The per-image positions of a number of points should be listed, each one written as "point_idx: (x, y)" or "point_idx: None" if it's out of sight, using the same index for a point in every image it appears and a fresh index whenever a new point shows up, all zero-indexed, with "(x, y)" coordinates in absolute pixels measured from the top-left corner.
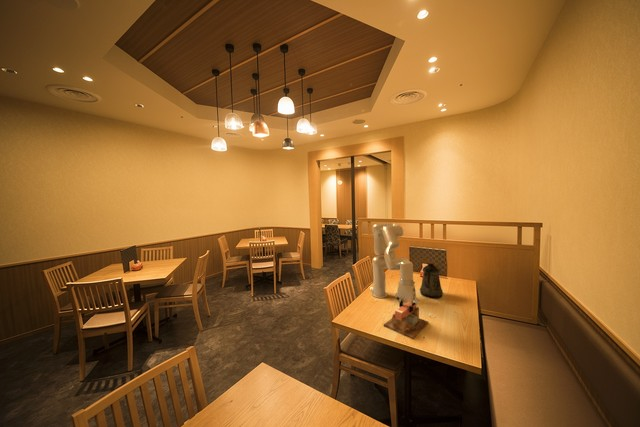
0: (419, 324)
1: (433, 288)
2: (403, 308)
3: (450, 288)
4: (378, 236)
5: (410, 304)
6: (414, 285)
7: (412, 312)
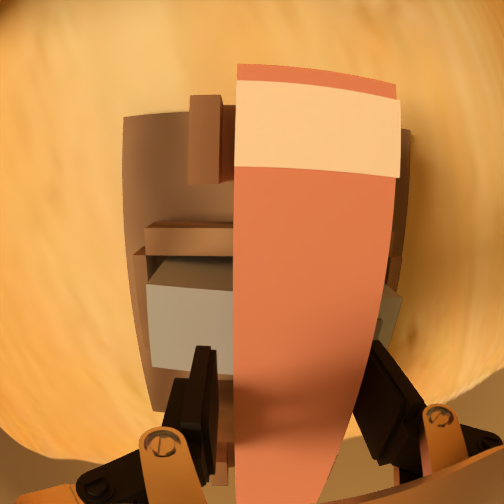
0: (395, 291)
1: None
2: (285, 470)
3: None
4: None
5: (402, 483)
6: None
7: None
